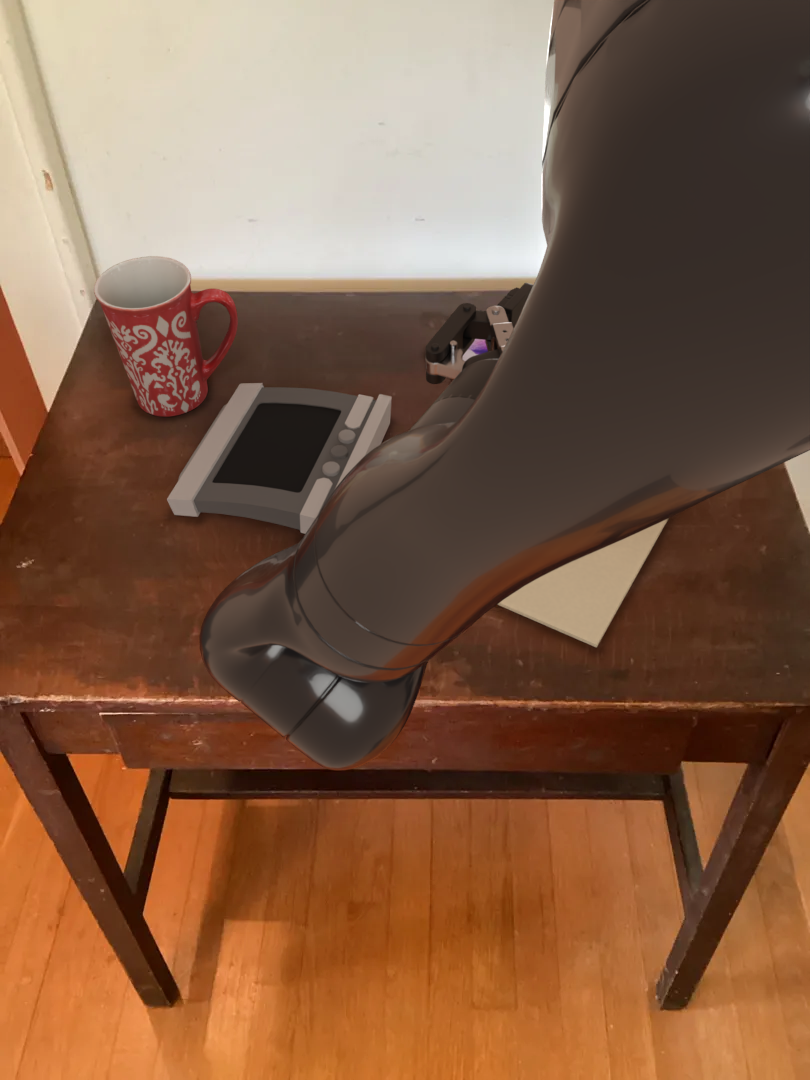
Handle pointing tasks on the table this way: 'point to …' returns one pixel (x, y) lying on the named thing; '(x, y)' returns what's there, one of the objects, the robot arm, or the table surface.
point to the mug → (161, 331)
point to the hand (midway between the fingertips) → (588, 312)
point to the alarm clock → (279, 453)
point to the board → (586, 588)
